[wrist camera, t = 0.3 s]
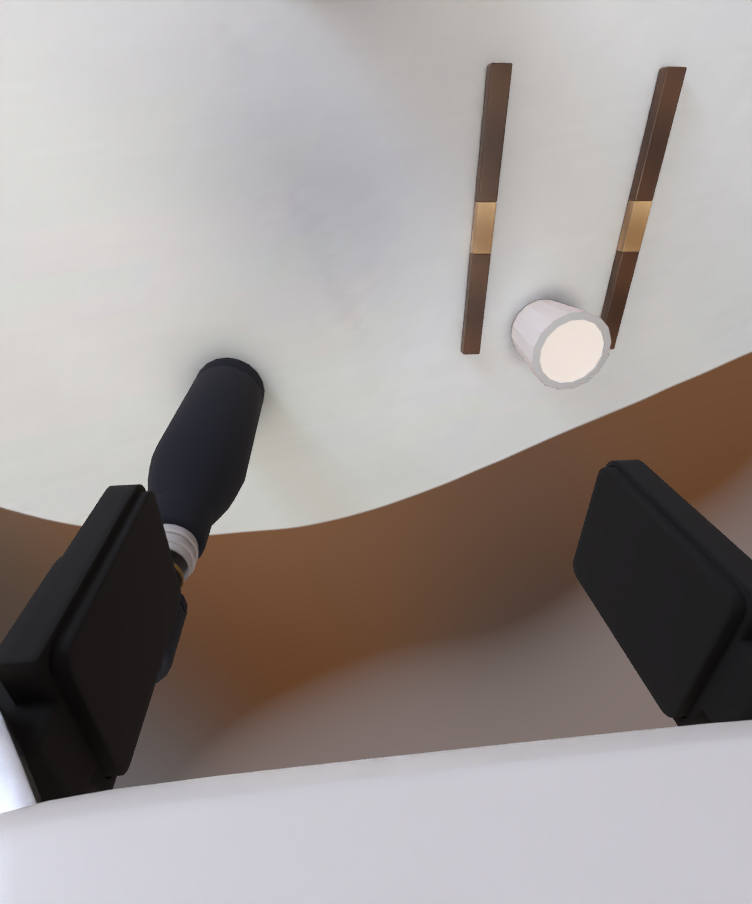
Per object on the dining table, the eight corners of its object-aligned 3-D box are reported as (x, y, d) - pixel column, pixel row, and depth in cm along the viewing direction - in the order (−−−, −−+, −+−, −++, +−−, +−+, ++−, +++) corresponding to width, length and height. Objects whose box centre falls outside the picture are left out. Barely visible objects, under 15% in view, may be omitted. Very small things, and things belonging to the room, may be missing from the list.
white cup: (584, 297, 46) (625, 316, 40) (560, 365, 49) (594, 393, 43) (516, 287, 45) (547, 306, 39) (496, 358, 48) (522, 386, 42)
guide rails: (487, 65, 36) (491, 62, 35) (678, 69, 37) (687, 66, 36) (460, 351, 47) (463, 354, 46) (608, 346, 48) (614, 349, 48)
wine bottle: (203, 348, 44) (46, 598, 19) (272, 370, 46) (215, 627, 20) (189, 408, 47) (36, 698, 21) (255, 426, 49) (185, 715, 23)
